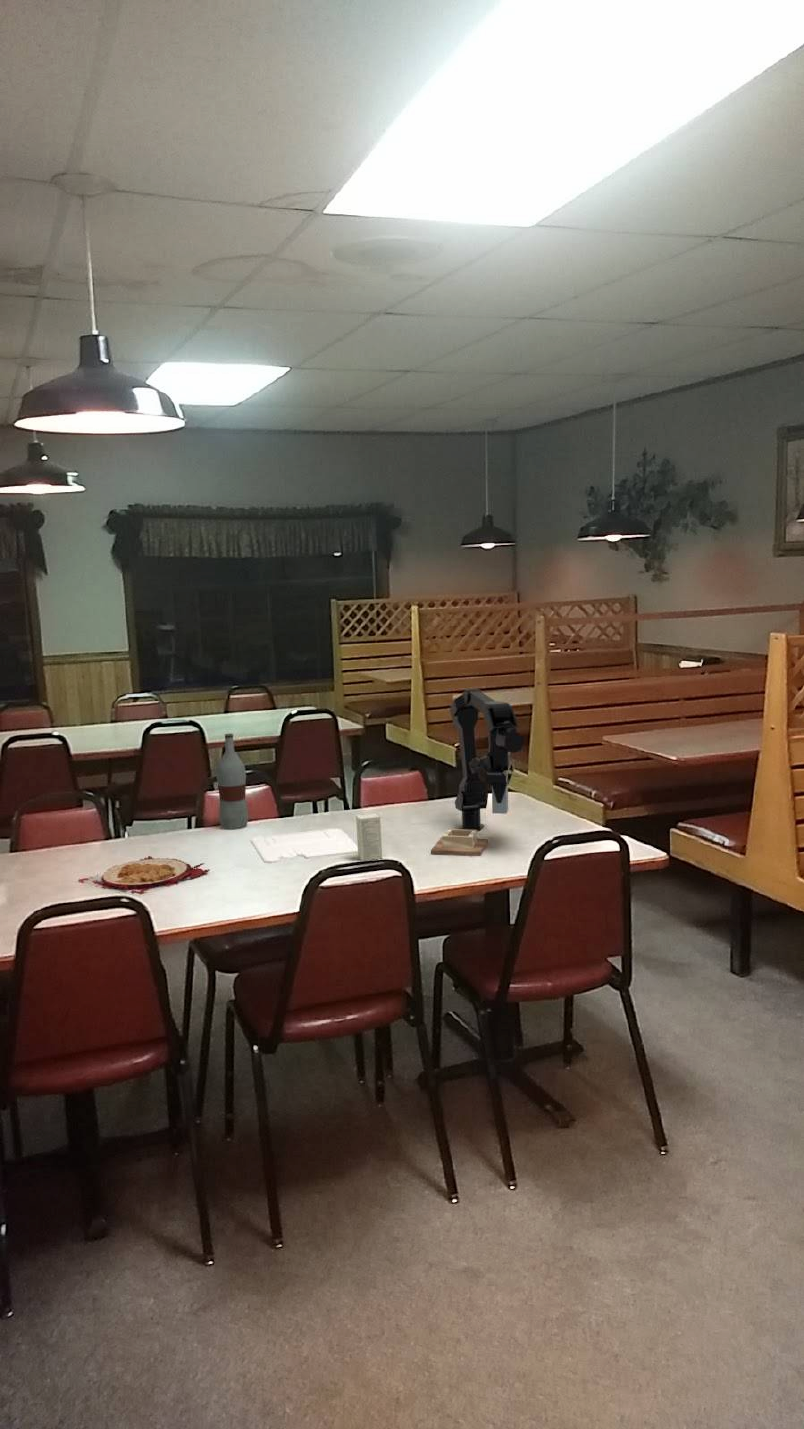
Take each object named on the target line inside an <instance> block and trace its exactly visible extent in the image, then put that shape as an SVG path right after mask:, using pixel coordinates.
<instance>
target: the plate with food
mask: <svg viewBox="0 0 804 1429" xmlns="http://www.w3.org/2000/svg"><path fill="white" fill-rule="evenodd" d="M203 865H205V863H204V862H203V863H199V864H197V865H195V866H191V864H189V863H188V862H187V863H186V862H185V861H183V860H180V859H177V858H168V857H166V858H163V857H162V858H160V857H159V858H154V857H152V856H151V855H148V857H144V858H140V859H139V860H132V861H128V862H125V863H122V864H119V865H118V864H117V865H113V866H112V867H110V868H109V869H107V870H106V871H105V872H104V874H103V875H102V876H101V881H102V883H101V881H100V880H98V879H96V880H92V881H91V882H92V883H93V884H94V885H95V887H97V888H98V886H100V885H101V886H100V888H101V889H104V890H105V889H110V890H111V889H119V890H122V891H121V892H119V891H118V893H119V894H120V893H122V892H124V893H127V891H129V890H131V895H134V893H137V895H143V894H146V893H147V892H148V891H149V890H152V889H154V888H159V887H162V886H163V887H167V888H169V887H170V888H171V887H172V886H174V885H179V884H180V882H179V879H181V878H183V880H188V879H189V878H190V879H191V880H192V879H196V878H198V877H201V875H203V874H207V873H209V872H210V869H203V868H200V867H201V866H203ZM98 876H99V875H98V874H96V877H98ZM90 879H93V877H92V876H89V878H88V877H87V878H86V877H84V878H79V879H78V882H79V883H82V884H84V883H86V882H87V881H89V880H90ZM85 881H86V882H85ZM123 890H125V891H123Z"/></svg>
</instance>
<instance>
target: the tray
mask: <svg viewBox="0 0 804 1429" xmlns="http://www.w3.org/2000/svg"><path fill="white" fill-rule="evenodd" d="M250 842H251V844H252V846H253V847H254V849H255V850H256V852H257V854H258V855H259V856H260V858H261V860H262V861H263V862H264V863H265V864H279V863H280V860H281V859H288V858H294V857H295V858H296V857H303V858H304V859H306V860H311V859H318V858H326V857H327V858H329V857H337V856H345V855H351V854H352V855H353V854H358V844H356V843H355V842H354V841H353V839H352V838H350V836H348V835H347V834H346V833H345V832H344V830H342V829H341V828H326V829H318V830H309V831H308V830H307V831H300V832H292V833H291V832H290V833H280V834H273V835H262V836H254V837H252V838H251V839H250Z"/></svg>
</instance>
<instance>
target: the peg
mask: <svg viewBox="0 0 804 1429" xmlns="http://www.w3.org/2000/svg"><path fill="white" fill-rule="evenodd" d="M491 803H492V806H491V807H492V808H491V809H492V810H491V812H492V814H501V815H502V814H507V813H508V812H509V785H508V784H507V787H506V790H505V793H504V796H503V799H502V801H501V803H497V801H496V797H495V794H494V790H493V787H492V786H491Z"/></svg>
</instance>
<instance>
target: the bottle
mask: <svg viewBox="0 0 804 1429" xmlns="http://www.w3.org/2000/svg"><path fill="white" fill-rule="evenodd" d="M234 745H235V743H234V734H233V733H225V734H224V746H225V750H224V753H223V755H222V756H221V758H220V761H219V762H218V764H217V768H216V782H217V788H218V789H217V790H218V794H219V795H218V796H219V807H218V819H219V823H220V827H221V828H222V829H223V830H232V831H233V830H239V829H244V828H246V827H247V826H248V824H249V810H248V809H249V808H248V804H247V801H246V800H247V799H246V794H247V793H246V786H247V785H246V784H247V781H246V780H247V773H246V772H247V771H246V767H245V765H244V764H245V763H244V762H243V761H242V759H241V758H240V756H239V755H238V754H237V753H236V751H235V746H234Z"/></svg>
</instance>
